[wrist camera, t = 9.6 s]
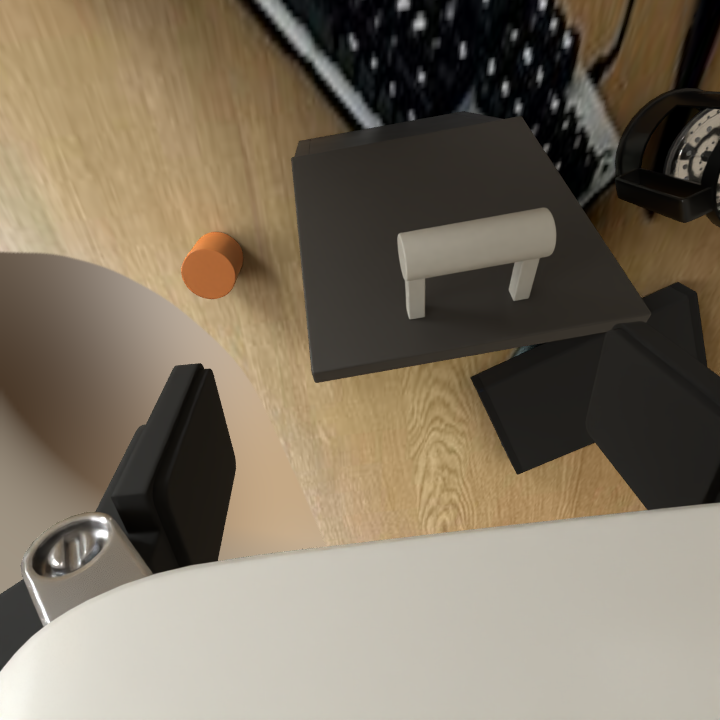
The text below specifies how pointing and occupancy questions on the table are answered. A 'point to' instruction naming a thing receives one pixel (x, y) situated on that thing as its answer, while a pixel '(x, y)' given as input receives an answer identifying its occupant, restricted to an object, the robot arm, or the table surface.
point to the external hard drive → (570, 383)
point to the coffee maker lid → (447, 251)
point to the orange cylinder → (212, 265)
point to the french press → (674, 159)
